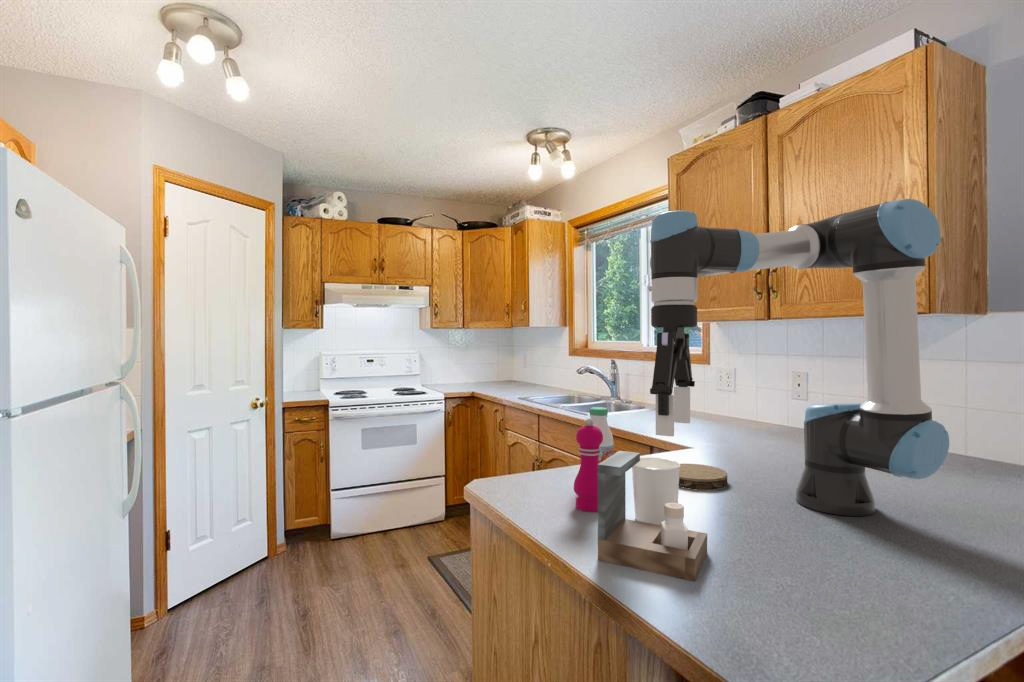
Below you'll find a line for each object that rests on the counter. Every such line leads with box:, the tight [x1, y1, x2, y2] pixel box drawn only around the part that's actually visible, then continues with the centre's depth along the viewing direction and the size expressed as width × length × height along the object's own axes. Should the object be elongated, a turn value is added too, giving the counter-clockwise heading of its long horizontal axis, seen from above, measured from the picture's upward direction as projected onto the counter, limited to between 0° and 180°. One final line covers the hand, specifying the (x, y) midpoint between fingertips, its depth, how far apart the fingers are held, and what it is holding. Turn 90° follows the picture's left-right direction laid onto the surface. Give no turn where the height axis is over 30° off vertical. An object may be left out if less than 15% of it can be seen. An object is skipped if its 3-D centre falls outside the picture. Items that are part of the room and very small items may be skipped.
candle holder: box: [631, 457, 681, 525], centre depth 107 cm, size 10×10×12 cm
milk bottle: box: [589, 406, 615, 463], centre depth 132 cm, size 8×8×20 cm
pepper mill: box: [573, 418, 603, 513], centre depth 115 cm, size 7×7×20 cm
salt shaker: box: [661, 502, 689, 550], centre depth 88 cm, size 4×4×10 cm
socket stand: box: [597, 450, 708, 582], centre depth 90 cm, size 16×12×16 cm
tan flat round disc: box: [679, 463, 728, 491], centre depth 136 cm, size 16×16×3 cm
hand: (674, 428), depth 88 cm, fingers open, 13 cm apart
